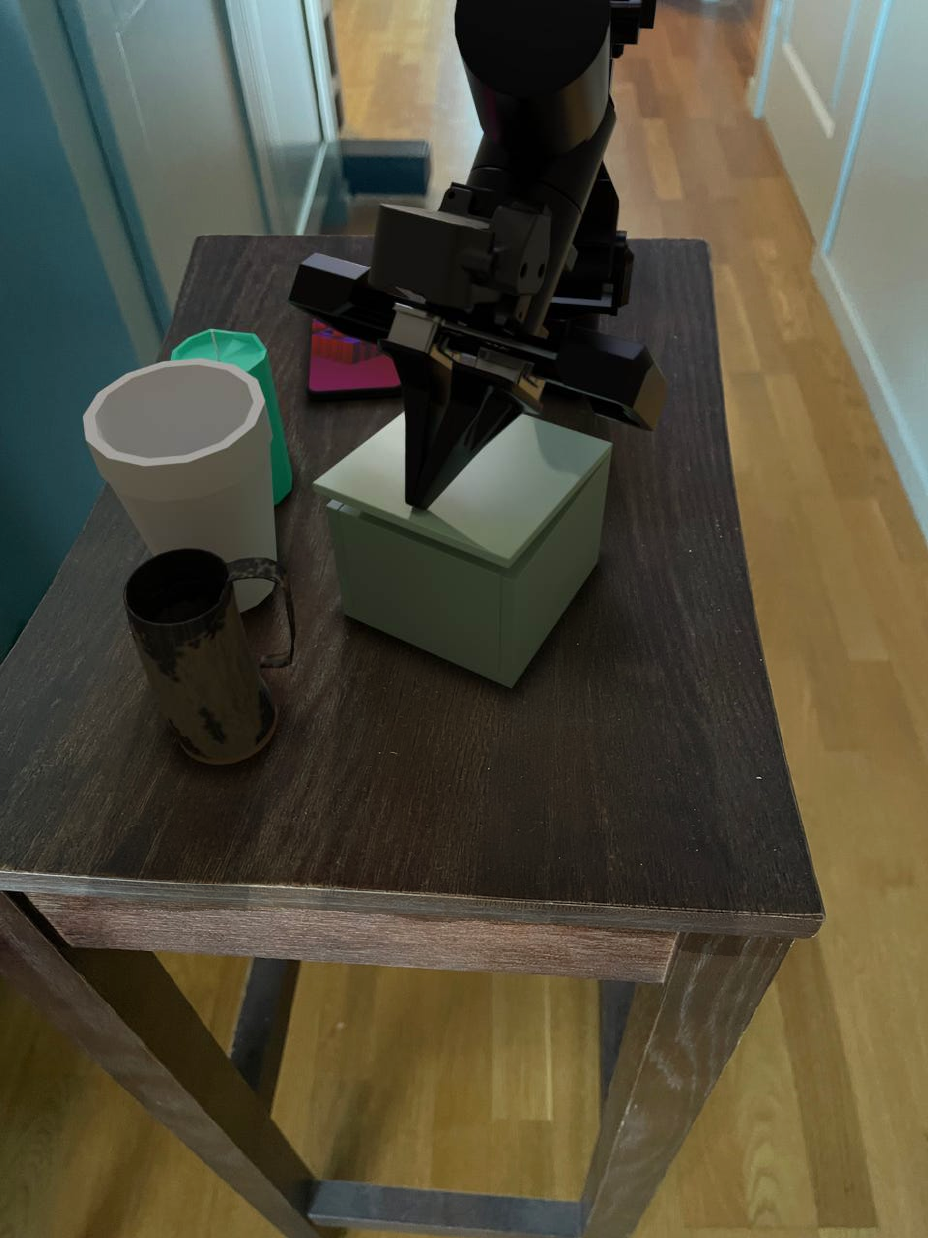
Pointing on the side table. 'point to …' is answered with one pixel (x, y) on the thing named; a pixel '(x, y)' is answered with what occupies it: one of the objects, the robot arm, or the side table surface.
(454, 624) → the green bin
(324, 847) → the side table surface
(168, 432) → the foam cup
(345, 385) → the smartphone
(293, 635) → the mug
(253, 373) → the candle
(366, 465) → the bin lid
